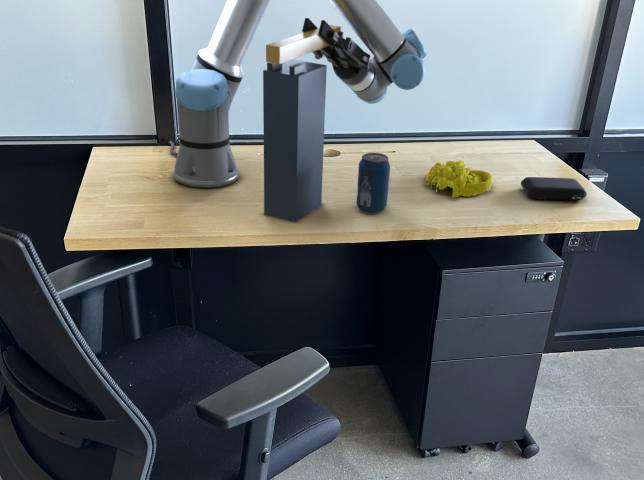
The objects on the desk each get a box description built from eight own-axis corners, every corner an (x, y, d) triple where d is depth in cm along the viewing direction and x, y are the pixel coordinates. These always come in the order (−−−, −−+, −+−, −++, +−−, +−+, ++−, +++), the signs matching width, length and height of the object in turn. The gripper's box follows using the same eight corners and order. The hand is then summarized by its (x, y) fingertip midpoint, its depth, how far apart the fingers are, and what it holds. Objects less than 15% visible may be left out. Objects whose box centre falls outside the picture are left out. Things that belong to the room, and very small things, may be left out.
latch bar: (327, 39, 160) (328, 24, 159) (340, 41, 159) (340, 26, 158) (266, 61, 141) (265, 44, 139) (279, 64, 140) (279, 47, 138)
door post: (290, 197, 172) (292, 51, 154) (321, 204, 169) (327, 57, 151) (264, 214, 163) (262, 61, 145) (295, 222, 160) (298, 68, 142)
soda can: (385, 204, 171) (389, 152, 164) (387, 215, 166) (392, 162, 159) (355, 203, 171) (358, 151, 164) (356, 214, 165) (360, 161, 158)
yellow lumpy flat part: (502, 192, 182) (505, 175, 179) (447, 200, 175) (450, 183, 173) (463, 170, 193) (465, 154, 191) (411, 177, 187) (413, 160, 185)
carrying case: (528, 202, 176) (588, 204, 177) (531, 190, 175) (592, 192, 176) (517, 186, 185) (575, 188, 186) (520, 174, 183) (578, 176, 184)
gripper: (326, 47, 174) (283, 2, 152) (389, 56, 169) (354, 11, 147) (318, 79, 175) (274, 39, 153) (380, 89, 170) (344, 50, 148)
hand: (313, 25), depth 150 cm, fingers closed on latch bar, 3 cm apart
